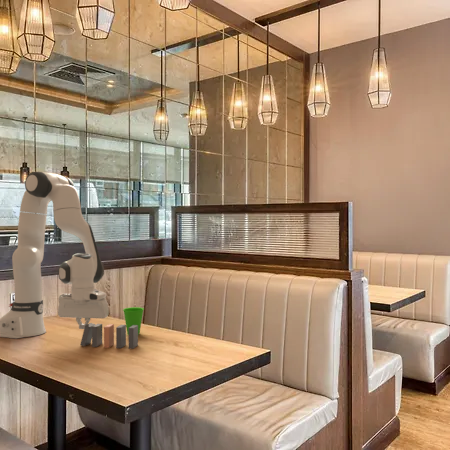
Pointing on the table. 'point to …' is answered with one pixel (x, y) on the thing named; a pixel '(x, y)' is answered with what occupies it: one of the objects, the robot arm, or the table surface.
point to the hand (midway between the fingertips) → (83, 328)
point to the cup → (133, 317)
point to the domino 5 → (133, 336)
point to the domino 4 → (120, 336)
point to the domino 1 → (87, 334)
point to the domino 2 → (96, 335)
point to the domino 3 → (109, 335)
